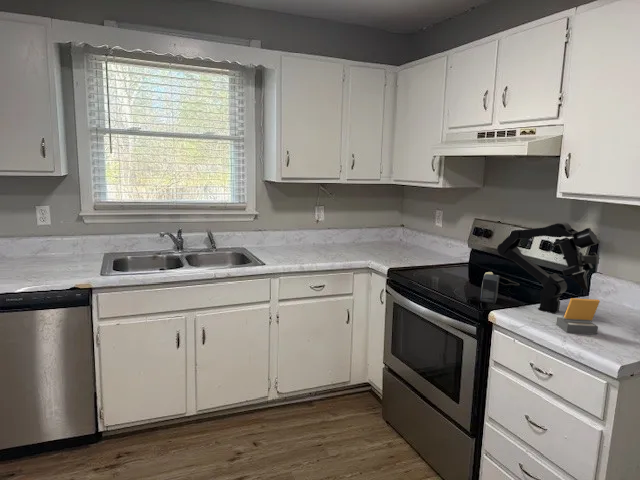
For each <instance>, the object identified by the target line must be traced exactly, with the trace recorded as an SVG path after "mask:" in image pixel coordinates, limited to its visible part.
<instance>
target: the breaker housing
mask: <svg viewBox="0 0 640 480" xmlns="http://www.w3.org/2000/svg"><path fill="white" fill-rule="evenodd" d="M555 325H556V326H557V327H558V326H559V327H558V328H560V329H561V330H562V331H564V332H566V333H567V334H568V333H569V334H583V335H598V330H599V326H598V325H597V324H595V323H593V321H592V322H588V321H570V320H563V317H556V322H555Z"/></svg>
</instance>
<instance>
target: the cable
mask: <svg viewBox="0 0 640 480" xmlns="http://www.w3.org/2000/svg"><path fill="white" fill-rule="evenodd" d="M485 274H491V275H495V274H494V273H493V272H492V271H488V272H485V273H484V275H483V277H484V276H485ZM499 279H503V280H507V281H508V282H509V283H507V284H506V283H503V282H502V281H500V280H499V284H501V285H503V286H514V287H515V286H516V287H519V286H521V284H520V283H519V282H516V281H513V280H511V279H509V278H507V277H506V278H505V277H503V276H501V275H499Z"/></svg>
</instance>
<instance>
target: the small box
mask: <svg viewBox="0 0 640 480" xmlns="http://www.w3.org/2000/svg"><path fill="white" fill-rule="evenodd" d="M484 275H485V276H484ZM484 275H483V279H482V284H481V290H480V291H481V293H480V302H483V303H490V304H495V305H496V303H497V299H498V296H499V295H498V294H499V293H498V292H499V284H500V283H499V281H500V278H499V276H500V275H498V274H494V275H491V274H485V273H484Z"/></svg>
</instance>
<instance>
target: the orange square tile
mask: <svg viewBox="0 0 640 480" xmlns="http://www.w3.org/2000/svg"><path fill="white" fill-rule="evenodd" d="M568 302H569V303H568V304H567V308H566V311H565V313H564V316H562V318H563V320H570V321H588V322H592V323H593V318H594V317H595V314H596V311H597V309H598V307H599V304H600V300H599V299H595V298H594V299H593V298H576V297H575V298H574V297H570V299H569V301H568Z"/></svg>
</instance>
